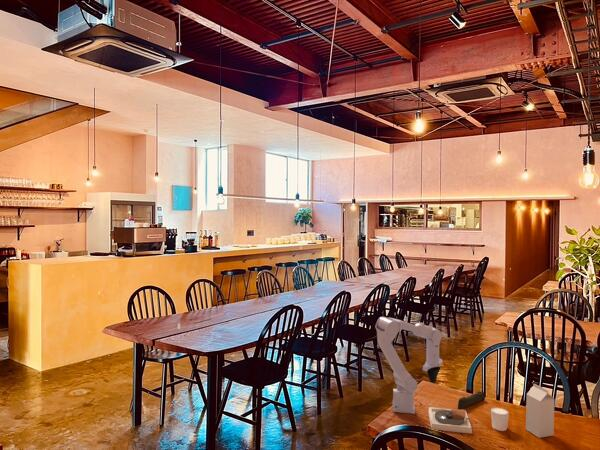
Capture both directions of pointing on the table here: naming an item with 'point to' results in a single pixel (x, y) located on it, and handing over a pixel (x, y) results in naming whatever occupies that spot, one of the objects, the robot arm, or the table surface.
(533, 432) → the milk carton
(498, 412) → the white cylinder
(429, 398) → the table surface
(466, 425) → the dial plate
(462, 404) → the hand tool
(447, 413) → the dial
